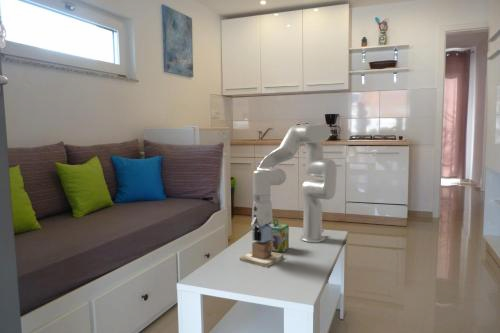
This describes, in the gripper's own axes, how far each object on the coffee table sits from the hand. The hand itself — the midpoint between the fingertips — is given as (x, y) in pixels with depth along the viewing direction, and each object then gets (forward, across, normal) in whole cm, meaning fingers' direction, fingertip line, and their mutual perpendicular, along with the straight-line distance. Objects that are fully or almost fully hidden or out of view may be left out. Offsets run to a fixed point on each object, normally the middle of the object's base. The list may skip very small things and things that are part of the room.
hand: (261, 238), depth 163 cm
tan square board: (+9, 0, 0) cm, 9 cm away
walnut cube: (+8, 0, 0) cm, 8 cm away
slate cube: (+1, 0, 0) cm, 1 cm away
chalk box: (+10, +16, +2) cm, 19 cm away
